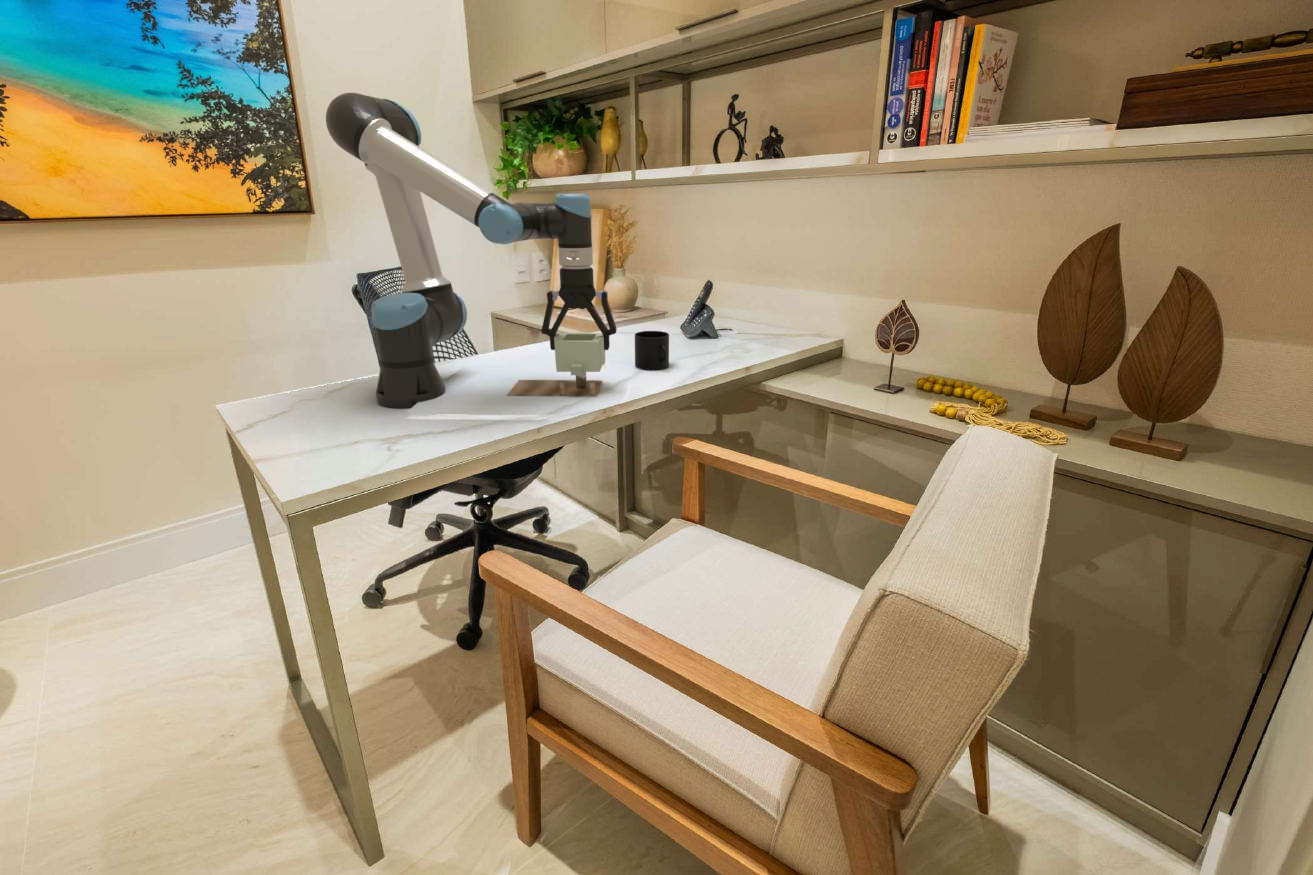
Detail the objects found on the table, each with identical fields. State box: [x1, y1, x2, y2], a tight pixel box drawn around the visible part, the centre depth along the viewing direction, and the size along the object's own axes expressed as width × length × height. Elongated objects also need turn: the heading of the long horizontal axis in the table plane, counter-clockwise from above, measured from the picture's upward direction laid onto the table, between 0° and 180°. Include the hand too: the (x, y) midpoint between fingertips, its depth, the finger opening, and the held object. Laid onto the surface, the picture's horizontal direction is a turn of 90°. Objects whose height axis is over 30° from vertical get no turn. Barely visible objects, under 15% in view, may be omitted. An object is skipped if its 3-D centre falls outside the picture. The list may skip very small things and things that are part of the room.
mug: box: [634, 330, 670, 371], centre depth 172 cm, size 9×12×9 cm
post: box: [575, 372, 587, 389], centre depth 150 cm, size 2×2×7 cm
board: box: [505, 379, 603, 398], centre depth 151 cm, size 21×13×4 cm, turn 89°
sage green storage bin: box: [554, 332, 603, 376], centre depth 147 cm, size 13×10×7 cm
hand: (580, 363), depth 149 cm, fingers closed on sage green storage bin, 10 cm apart
